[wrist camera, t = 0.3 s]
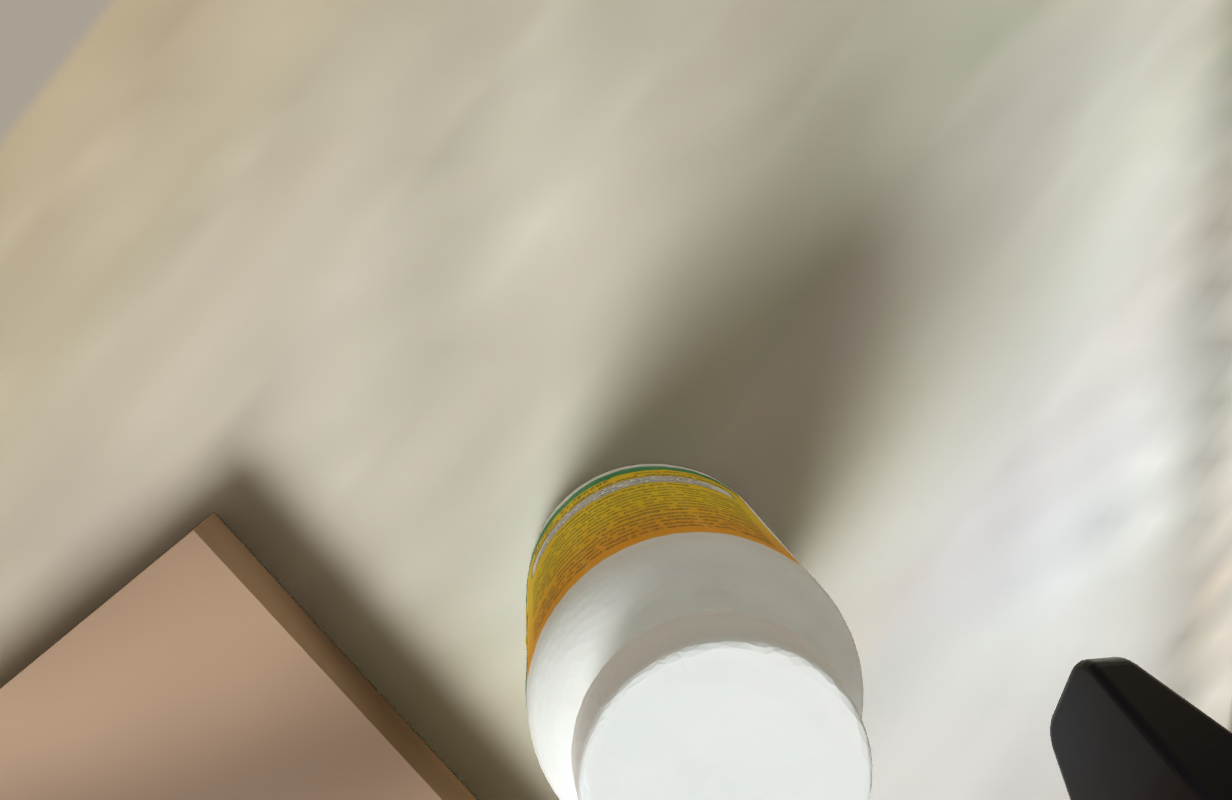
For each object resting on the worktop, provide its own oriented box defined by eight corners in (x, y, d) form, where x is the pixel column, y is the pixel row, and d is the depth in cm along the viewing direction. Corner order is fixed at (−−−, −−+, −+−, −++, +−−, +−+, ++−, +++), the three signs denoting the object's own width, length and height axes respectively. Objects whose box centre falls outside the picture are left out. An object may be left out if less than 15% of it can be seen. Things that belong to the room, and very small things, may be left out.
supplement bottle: (819, 590, 25) (1006, 802, 15) (631, 745, 25) (702, 1051, 16) (665, 404, 24) (762, 508, 15) (471, 566, 24) (442, 771, 15)
